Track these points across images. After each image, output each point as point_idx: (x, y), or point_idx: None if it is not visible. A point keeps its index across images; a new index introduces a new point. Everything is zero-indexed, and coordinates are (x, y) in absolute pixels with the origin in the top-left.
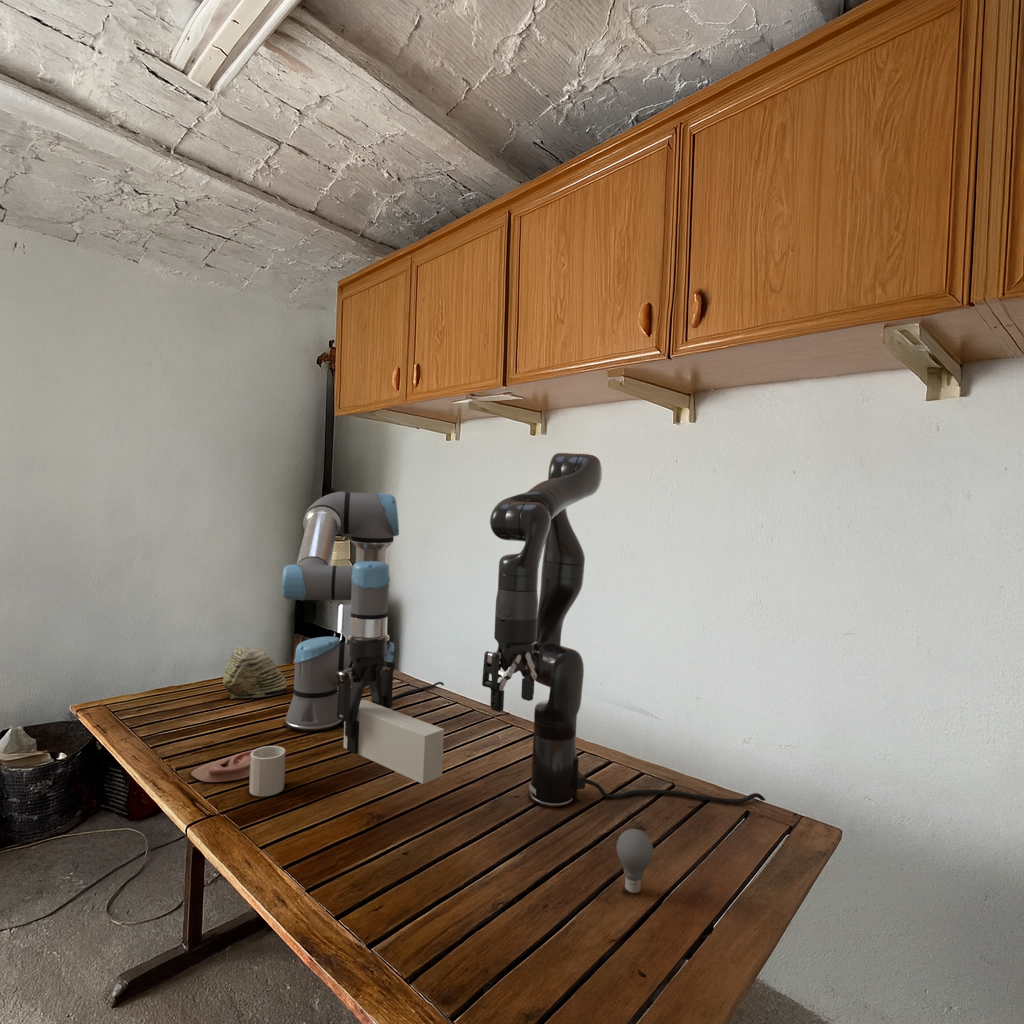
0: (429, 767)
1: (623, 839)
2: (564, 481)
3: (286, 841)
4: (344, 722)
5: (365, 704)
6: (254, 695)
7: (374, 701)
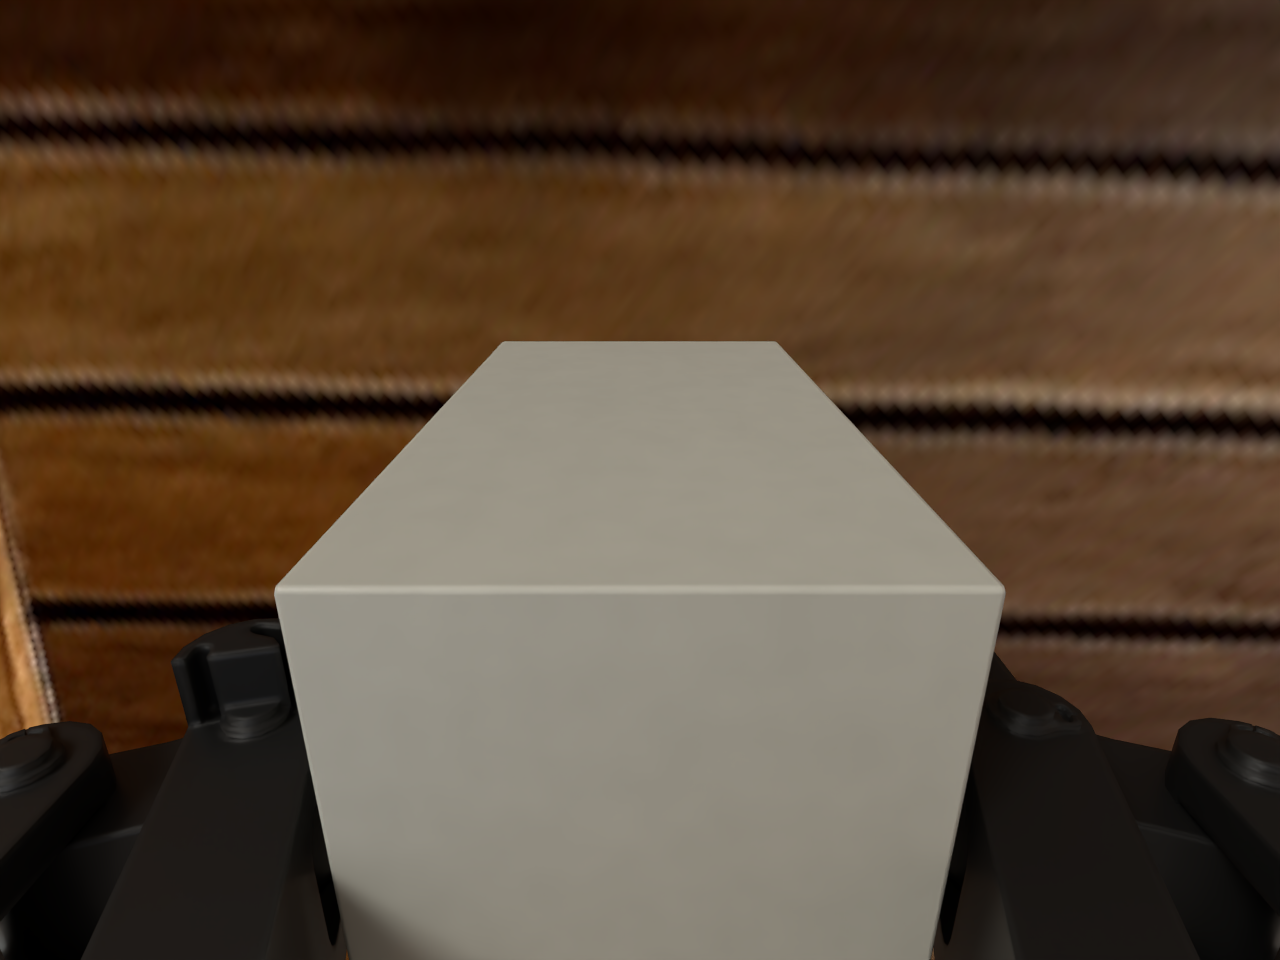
0: None
1: None
2: None
3: (113, 437)
4: (420, 433)
5: (716, 887)
6: None
7: (979, 946)
